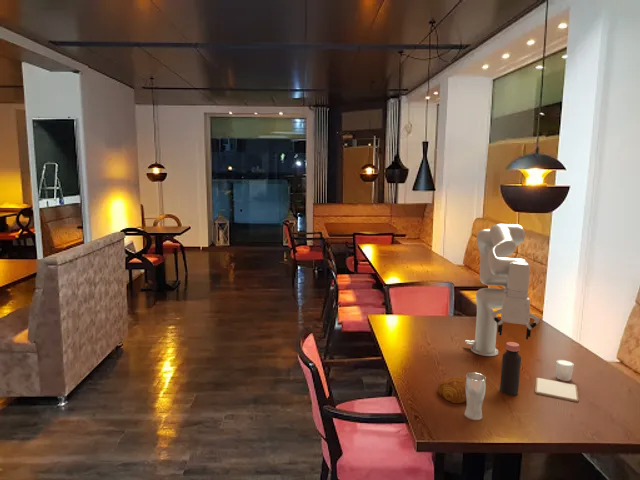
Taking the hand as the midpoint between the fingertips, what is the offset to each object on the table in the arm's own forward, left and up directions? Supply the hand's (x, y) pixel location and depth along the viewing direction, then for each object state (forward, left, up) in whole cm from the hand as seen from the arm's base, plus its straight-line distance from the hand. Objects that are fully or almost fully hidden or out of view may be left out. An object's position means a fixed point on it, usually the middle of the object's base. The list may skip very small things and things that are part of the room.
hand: (513, 336), depth 184 cm
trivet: (+17, +11, -23) cm, 31 cm away
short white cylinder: (+20, +25, -24) cm, 40 cm away
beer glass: (-10, -26, -24) cm, 36 cm away
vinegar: (0, 0, -24) cm, 24 cm away
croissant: (-18, -12, -24) cm, 32 cm away
